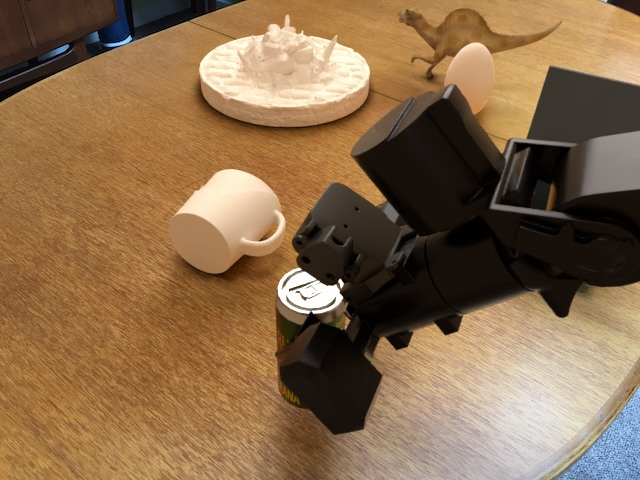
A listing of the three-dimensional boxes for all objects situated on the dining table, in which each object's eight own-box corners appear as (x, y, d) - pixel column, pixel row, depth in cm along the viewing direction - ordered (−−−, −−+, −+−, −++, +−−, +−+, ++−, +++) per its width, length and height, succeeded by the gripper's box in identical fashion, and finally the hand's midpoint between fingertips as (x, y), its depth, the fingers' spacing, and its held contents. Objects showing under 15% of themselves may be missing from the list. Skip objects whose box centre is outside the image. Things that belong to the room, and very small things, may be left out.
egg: (433, 120, 93) (446, 47, 86) (444, 100, 99) (458, 30, 91) (480, 131, 91) (498, 57, 84) (489, 110, 97) (507, 39, 89)
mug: (167, 258, 67) (157, 201, 62) (213, 213, 74) (207, 158, 68) (260, 293, 63) (257, 236, 58) (300, 242, 70) (301, 187, 65)
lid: (661, 91, 63) (661, 89, 63) (549, 66, 66) (550, 64, 67) (617, 194, 69) (617, 192, 69) (517, 165, 73) (518, 163, 73)
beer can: (316, 353, 54) (320, 255, 47) (352, 394, 51) (362, 296, 43) (266, 380, 52) (260, 281, 44) (300, 425, 49) (300, 327, 41)
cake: (182, 120, 90) (174, 60, 84) (220, 47, 112) (216, -6, 105) (366, 134, 89) (372, 74, 83) (369, 57, 111) (374, 5, 104)
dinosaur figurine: (391, 66, 108) (401, -10, 100) (541, 89, 103) (565, 11, 95) (383, 84, 102) (392, 5, 94) (541, 109, 97) (566, 28, 89)
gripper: (418, 105, 42) (279, 194, 52) (313, 270, 29) (155, 346, 39) (505, 222, 45) (358, 284, 55) (447, 420, 32) (267, 454, 42)
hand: (294, 331), depth 48 cm, fingers closed on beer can, 5 cm apart
